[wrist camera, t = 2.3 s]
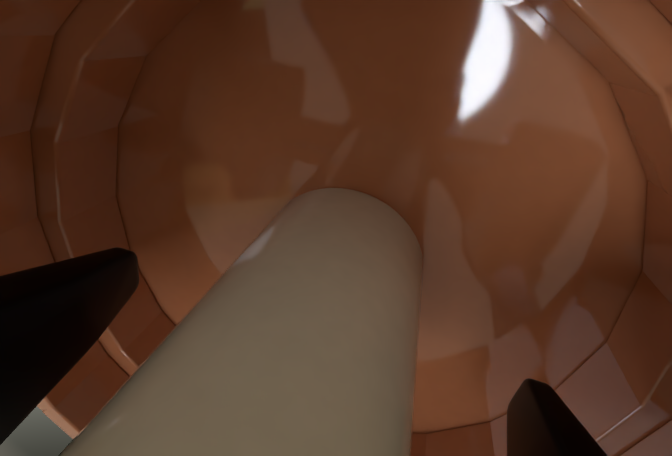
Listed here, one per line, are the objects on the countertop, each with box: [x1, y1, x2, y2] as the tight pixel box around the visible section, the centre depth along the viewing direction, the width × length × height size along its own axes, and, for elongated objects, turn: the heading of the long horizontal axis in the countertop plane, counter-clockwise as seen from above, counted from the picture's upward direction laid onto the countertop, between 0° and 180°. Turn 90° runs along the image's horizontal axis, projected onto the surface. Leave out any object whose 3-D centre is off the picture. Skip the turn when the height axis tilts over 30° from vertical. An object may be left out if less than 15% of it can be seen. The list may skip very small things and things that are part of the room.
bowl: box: [0, 0, 672, 456], centre depth 9 cm, size 16×16×4 cm
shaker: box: [59, 188, 424, 456], centre depth 7 cm, size 4×4×8 cm
